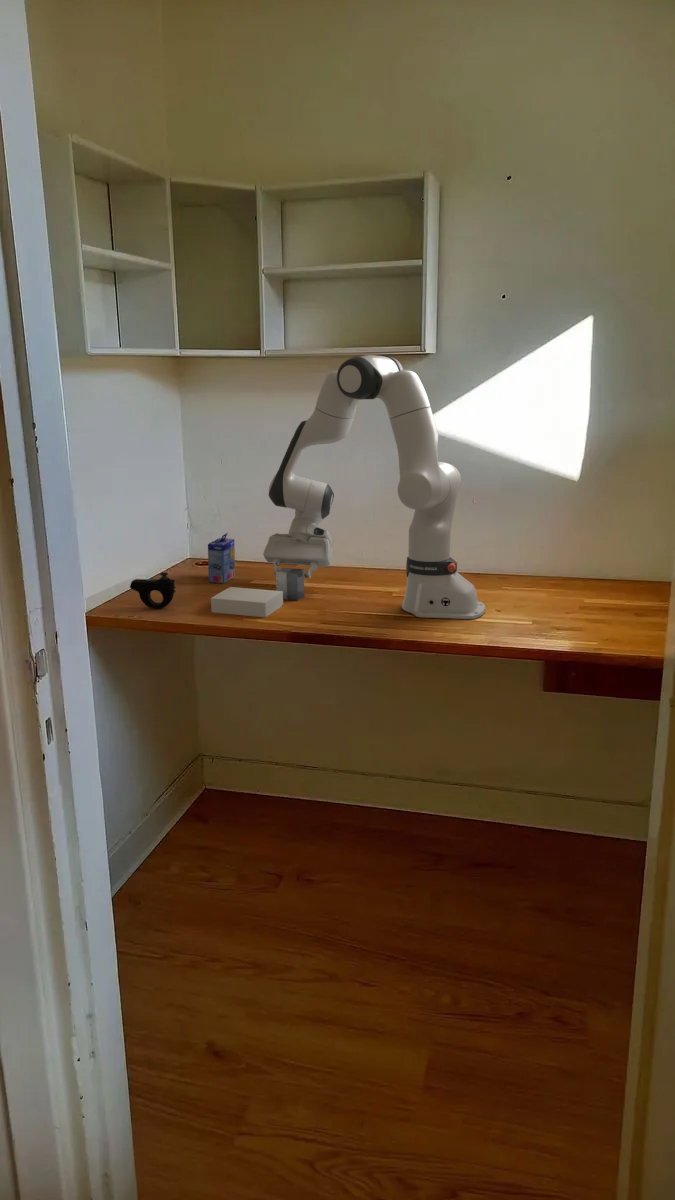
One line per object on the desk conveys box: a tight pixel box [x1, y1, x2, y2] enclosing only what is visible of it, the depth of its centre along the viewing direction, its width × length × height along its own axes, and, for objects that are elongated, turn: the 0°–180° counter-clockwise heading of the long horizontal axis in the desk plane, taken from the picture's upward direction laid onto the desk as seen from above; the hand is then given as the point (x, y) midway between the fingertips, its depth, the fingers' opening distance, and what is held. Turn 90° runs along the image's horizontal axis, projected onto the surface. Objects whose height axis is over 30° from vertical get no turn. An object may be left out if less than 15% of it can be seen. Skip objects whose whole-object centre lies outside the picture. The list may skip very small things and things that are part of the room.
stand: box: [210, 586, 284, 618], centre depth 231 cm, size 16×12×4 cm
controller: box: [129, 572, 177, 610], centre depth 232 cm, size 4×12×10 cm, turn 84°
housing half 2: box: [286, 568, 305, 602], centre depth 241 cm, size 3×5×8 cm, turn 161°
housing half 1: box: [275, 567, 294, 601], centre depth 242 cm, size 3×5×8 cm, turn 161°
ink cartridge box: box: [207, 532, 236, 584], centre depth 261 cm, size 10×6×14 cm, turn 166°
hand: (291, 575), depth 242 cm, fingers open, 8 cm apart
